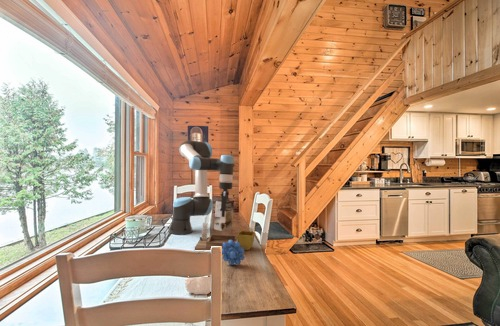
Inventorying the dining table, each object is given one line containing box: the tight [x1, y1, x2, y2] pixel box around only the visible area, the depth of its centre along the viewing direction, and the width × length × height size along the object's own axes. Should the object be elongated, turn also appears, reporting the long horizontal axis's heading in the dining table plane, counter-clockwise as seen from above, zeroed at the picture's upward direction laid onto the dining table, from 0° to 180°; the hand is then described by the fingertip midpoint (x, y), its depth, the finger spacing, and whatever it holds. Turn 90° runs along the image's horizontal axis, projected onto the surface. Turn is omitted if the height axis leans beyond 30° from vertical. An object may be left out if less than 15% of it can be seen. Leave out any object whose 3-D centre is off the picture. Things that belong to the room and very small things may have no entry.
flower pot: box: [236, 230, 256, 251], centre depth 141 cm, size 9×9×9 cm
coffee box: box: [213, 199, 235, 232], centre depth 141 cm, size 9×6×16 cm
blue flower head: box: [221, 239, 246, 266], centre depth 115 cm, size 12×7×12 cm, turn 95°
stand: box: [194, 234, 238, 251], centre depth 141 cm, size 16×22×5 cm
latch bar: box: [201, 222, 208, 240], centre depth 146 cm, size 10×2×2 cm
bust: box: [185, 277, 210, 296], centre depth 91 cm, size 12×8×11 cm
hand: (223, 220), depth 141 cm, fingers closed on coffee box, 11 cm apart
